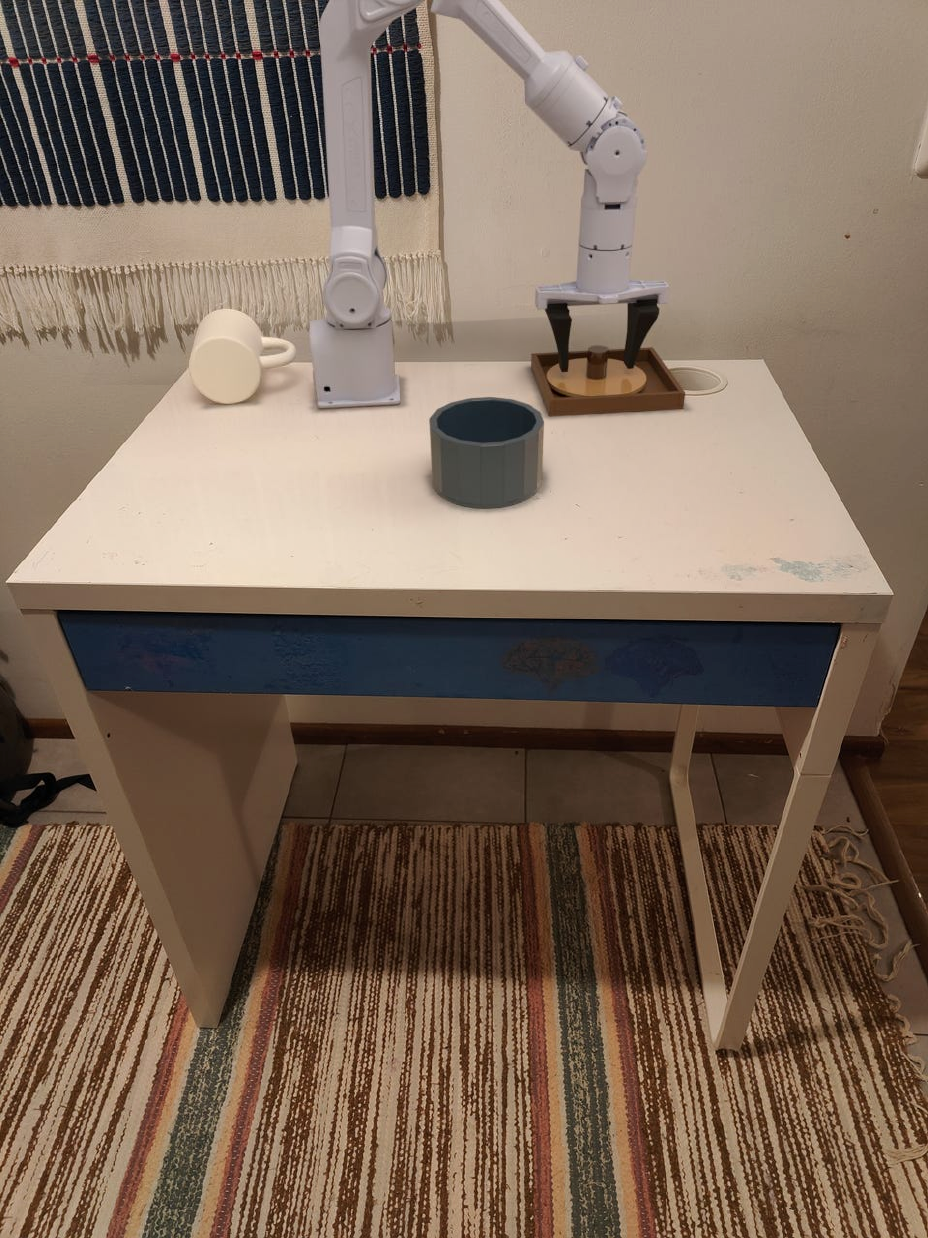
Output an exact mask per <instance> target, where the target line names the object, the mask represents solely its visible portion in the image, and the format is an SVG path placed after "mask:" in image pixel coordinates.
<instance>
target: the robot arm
mask: <svg viewBox="0 0 928 1238" xmlns="http://www.w3.org/2000/svg"><path fill="white" fill-rule="evenodd" d="M424 1H425V0H328V3H327V4H326V7H325V8H324V10H323V13H322V14H321V17H320V19H319V28H318V29H319V45H320V47H319V48H320V62H321V63H320V64H321V80H322V81H321V82H322V96H323V99H322V100H323V113H324V114H323V115H324V131H325V148H326V161H327V162H326V165H327V167H326V168H327V181H328V182H327V183H328V198H329V199H328V201H329V216H330V219H329V220H330V237H329V250H328V262H329V264H328V265H329V267H328V274H327V277H326V279H325V281H324V283H323V285H322V291H321V296H322V297H321V298H322V303H323V306H324V308H325V310H326V312H327V313H326V314H325V316H326V317H323V318H319V319H312V320H310V321H309V344H310V345H309V346H310V353H311V362H312V369H313V370H312V377H313V384H314V386H315V392H316V399H317V407H318V408H319V409H331V408H349V407H367V406H369V407H370V406H384V405H398V404H401V388H400V385H401V384H400V375H399V374H396V366H395V364H396V363H395V353H394V351H395V350H394V339H393V338H394V337H393V325H392V313H391V309H390V308H389V307H388V306H387V305H386V304H385V302H384V300H383V292H384V289H385V287H386V285H387V280H388V270H387V266H386V263H385V261H384V259H383V258H382V256H381V253H380V250H379V249H380V248H379V244H378V243H379V242H378V241H379V239H378V230H377V224H376V202H375V201H376V199H375V196H376V195H375V194H376V193H375V163H374V161H375V160H374V130H373V129H374V127H373V101H372V100H373V98H372V97H373V95H372V94H373V93H372V59H371V49H372V46H373V44H374V43H375V42H376V41H377V40H378V39H379V38H380V36H382V34H383V33H384V32H385V31H386V30H387V29H388V27H390V26H391V24H392V23H393V21H395V20H397V19H398V18H400V17H402V16H404V15H407V14H408V13H409V12H411V11H413V10H414V9H417V8H418V7H419V6H421V5H422V4H423V3H424ZM429 13H432V14H436V15H439V16H444V17H449V18H452V19H456V20H459V21H461V22H463V23H464V24H465V25H466V26H467V27H468V28H469V29H470V30H471V31H472V32H473V33H474V34H475V35H476V36H477V37H478V38H479V39H480V40H481V41H482V42H483V43H484V44H485V45H486V46H487V47H489V49H491V50H492V52H494V53H495V55H497V57H499V58H500V59H501V60H502V61H503V62H504V63H505V64H506V65H507V66H508V67H509V68H510V69H511V70H512V71H513V72H515V74H517V75H518V77H519V78H520V79H522V80H523V84H524V103H525V105H526V106H527V107H528V109H530V110H531V112H532V113H534V114H535V116H537V117H538V119H540V120H541V121H542V123H544V125H546V126H547V128H548V129H550V131H551V132H552V133H553V134H554V135H555V136H556V137H557V138H558V139H559V140H560V141H561V142H562V143H563V144H564V145H565V146H566V147H567V148H568V149H569V150H570V151H573V152H574V151H576V152H579V155H580V159H581V161H582V163H583V164H584V165H586V166H587V168H585V169H584V177H583V178H584V179H583V192H582V195H581V198H580V213H579V215H580V216H579V229H578V231H579V232H578V233H579V234H578V249H577V263H576V265H577V267H576V280H573V281H568V282H563V283H562V282H561V283H556V284H550V285H538V286H535V293H534V304H535V307H536V309H537V310H540V311H541V310H544V312H545V314H546V316H547V319H548V322H549V324H550V327H551V330H552V334H553V338H554V341H555V346H556V350H557V351H556V352H558V357H559V367H560V369H561V372H568V367H569V352H570V349H569V348H570V336H571V330H572V322H573V318H572V317H571V315H570V311H571V310H570V309H569V307H577V306H578V307H579V306H600V305H619V304H622V305H623V304H627V320H626V321H627V324H626V337H625V344H624V349H625V350H624V364H625V365H626V367H627V369H633V368H634V364H635V361H636V358H637V355H638V352H639V350H640V348H642V345H643V343H644V342H645V341H644V340H645V339H646V338H647V335H648V334H649V332H650V330H651V329H652V327H653V326H654V324H655V323H656V321H657V320H658V318H659V315H660V307H659V306H658V304H659V305H663V304H665V305H666V304H668V302H669V301H668V300H669V294H670V293H669V292H670V285H669V284H668V282H666V281H665V280H643V279H630V277H631V276H630V275H631V265H632V264H631V263H632V255H633V243H634V235H635V233H634V232H635V224H636V223H635V222H636V211H637V203H638V201H637V200H638V199H637V187H638V182H639V180H638V175H639V174H641V172H642V170H643V168H644V167H645V166H646V163H647V159H648V154H649V153H648V151H647V150H646V142H645V137H644V134H643V131H642V130H641V129H640V128H639V127H638V125H637V124H635V122H634V121H632V120H631V119H630V118H629V116H628V114H627V112H626V111H623V110H621V109H620V108H622V106H623V102H622V101H621V100H620V99H619V98H618V97H617V96H616V95H613V96H612V97H610V95H609V94H607V93H606V91H605V90H604V89H603V88H602V87H601V86H600V85H599V84H598V83H597V82H596V81H595V80H594V79H593V78H592V76H591V75H589V73H588V72H587V71H586V70H587V69H588V68H589V63H588V62H587V61H586V60H585V58H583V56H582V55H580V54H576V55H575V56H574V57H573V56H572V55H571V53H569V51H567V50H556V51H546V50H544V49H543V48H542V47H541V45H540V44H539V43H538V42H537V41H536V40H535V39H534V37H533V36H532V35H531V34H530V33H529V32H528V31H527V30H526V29H525V27H523V25H522V24H521V23H520V22H519V21H518V20H517V19H516V18H515V16H514V15H513V14H512V13H511V11H510V10H508V8H507V7H506V6H505V5H504V4H503V2H501V0H433V1H431V6H430V10H429Z"/></svg>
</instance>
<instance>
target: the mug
mask: <svg viewBox="0 0 928 1238" xmlns="http://www.w3.org/2000/svg"><path fill="white" fill-rule="evenodd" d="M267 350H268V351H269V350H282V351H284V352H280V353H276V354H270V355H264V351H267ZM296 358H297V349H296V346H295V344H294V343H292V342H291V341H288V340H287V339H283V338H279V337H271V336H263V333H262V331H261V329H260V327H259V325H258V324H257V323H256V321H255V320H254V319H253V318H252V317H250V316H249V315H247V313H244V312H242V311H240V310H237V309H233V308H219V309H216V310H214V311H211V312H209V313H208V314H206V315H205V316H204V317H203V318H202V320H201V321H200V322H199V324H198V327H197V329H196V333H195V337H194V341H193V344H192V349H191V353H190V356H189V360H188V372H189V377H190V379H191V382H192V384H193V386H194V387H195V388H196V389H197V391H198V392H199V393H200V394H202V395H203V396H204V397H205V398H207V399H208V400H210V401H213V402H215V403H219V404H224V405H233V404H239V403H241V402H244V401H246V400H248V399H249V398H251V396H253V395H254V394H255V392H256V391H257V390H258V388H259V386H260V383H261V380H262V372H263V371H264V370H271V369H272V370H273V369H276V368H277V369H278V368H281V367H284V366H287V365H289V364H291V363H293V362H294V361H295V360H296Z"/></svg>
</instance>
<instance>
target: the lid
mask: <svg viewBox="0 0 928 1238" xmlns="http://www.w3.org/2000/svg"><path fill="white" fill-rule="evenodd" d="M586 351H587V358H579V359H573V360H569V367H568V372H561V369H560V367H559V364H556V365H555V366H553V367H552V368H550V369H549V371H548V372H547V376H546V379H547V382H548V384H549V386H550V387H551V388H552V389H554V390H555V391H557V392H559V393H561V394H564V395H567V396H570V397H581V396H599V395H618V394H635V393H637V392H639V391H641V390H642V389H643V388H644V386H645V385H646V375H645V373H644V372H643V371H642V370H641V369H640V368H638V367H637V366H634V368H633V369H627V367H626V365H625V364H624V361H619V360H614V359H608V352H609V348H608V347H607V346H604V345H590V346H588V348H587V350H586Z"/></svg>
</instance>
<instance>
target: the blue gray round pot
mask: <svg viewBox="0 0 928 1238" xmlns="http://www.w3.org/2000/svg"><path fill="white" fill-rule="evenodd" d="M428 423H429V440H430V441H429V442H430V443H429V444H430V461H431V463H430V464H431V478H432V486H433V489H434V491H435V492H436V493H437V495H439V496H440V497H441V498H443V499H444V500H446V501H447V502H450V503H452V504H455V505H459V506H462V507H467V508H474V509H475V508H476V509H497V508H504V507H509V506H514V505H517V504H520V503H522V502H524V501H527V500H528V499H530V498H531V497H532V496H534V495H535V494H536V493H537V492H538V490H539V489H540V487H541V484H542V480H543V460H544V438H545V437H544V436H545V420H544V418H543V416H542V413H541V411H540V410H537V409H536V408H535V407H533V406H532V405H531V404H529V403H526V402H523V401H519V400H517V399H513V398H506V397H496V396H484V397H471V398H465V399H461V400H460V399H459V400H455V401H451V402H449V403H446V404H445V405H443V406H441V407H439V408H437V409H435V411H434V412H433V414H431V416H430V418H429V419H428Z"/></svg>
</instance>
